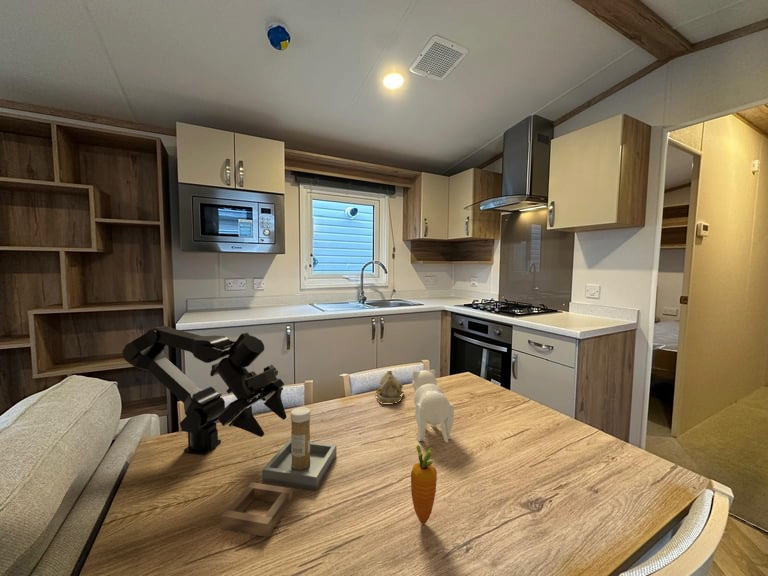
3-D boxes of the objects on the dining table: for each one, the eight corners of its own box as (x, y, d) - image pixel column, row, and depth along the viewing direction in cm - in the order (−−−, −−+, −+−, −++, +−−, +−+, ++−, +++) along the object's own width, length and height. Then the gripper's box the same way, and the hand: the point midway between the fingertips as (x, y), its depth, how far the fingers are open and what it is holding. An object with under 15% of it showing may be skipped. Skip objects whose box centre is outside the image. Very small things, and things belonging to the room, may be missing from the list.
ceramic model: (375, 390, 128) (375, 365, 127) (403, 390, 128) (403, 365, 128) (375, 405, 114) (375, 377, 113) (406, 405, 114) (406, 377, 114)
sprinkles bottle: (314, 462, 79) (314, 409, 78) (301, 473, 75) (301, 416, 74) (300, 457, 81) (299, 405, 80) (286, 467, 77) (286, 412, 76)
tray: (262, 482, 73) (262, 469, 73) (289, 450, 85) (289, 439, 85) (316, 490, 70) (316, 477, 70) (336, 456, 83) (336, 444, 83)
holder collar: (221, 528, 60) (220, 515, 60) (251, 493, 69) (251, 482, 69) (267, 537, 58) (267, 524, 58) (292, 499, 67) (292, 488, 67)
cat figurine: (467, 456, 84) (468, 393, 82) (428, 460, 81) (429, 396, 80) (433, 413, 108) (434, 364, 107) (403, 416, 106) (403, 366, 105)
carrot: (408, 514, 64) (409, 441, 63) (432, 513, 64) (434, 440, 63) (412, 535, 59) (413, 455, 58) (439, 533, 59) (440, 454, 58)
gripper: (229, 368, 71) (272, 424, 69) (278, 349, 89) (314, 393, 87) (200, 398, 74) (241, 454, 71) (254, 374, 92) (288, 417, 89)
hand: (274, 426), depth 80 cm, fingers open, 9 cm apart
